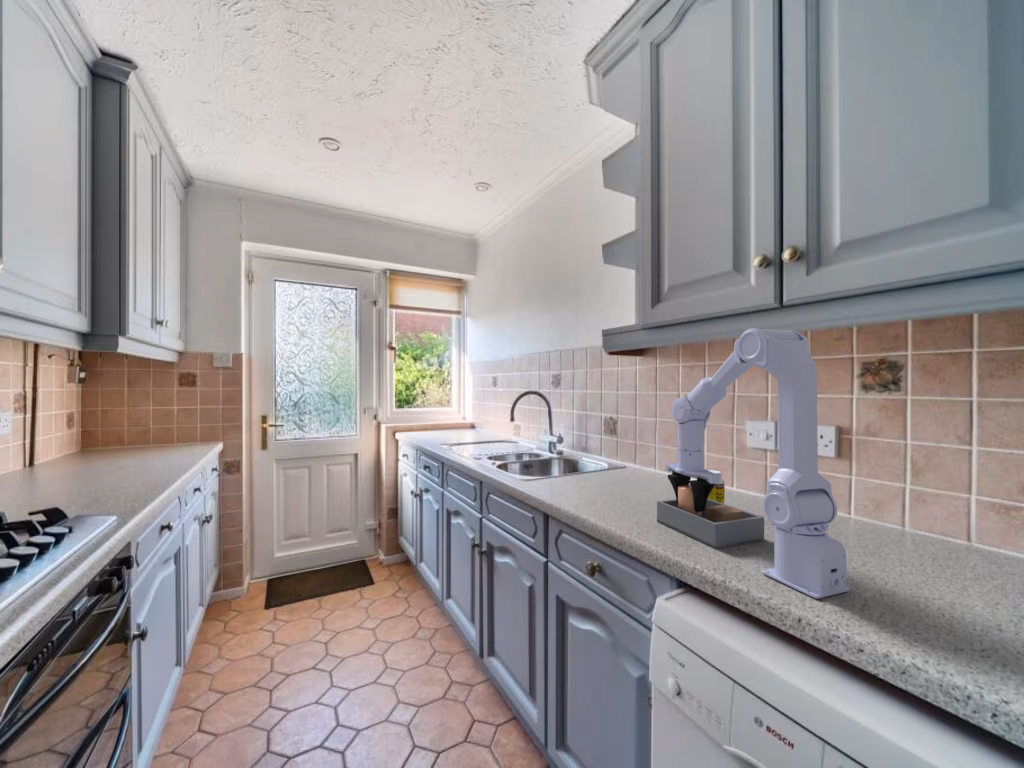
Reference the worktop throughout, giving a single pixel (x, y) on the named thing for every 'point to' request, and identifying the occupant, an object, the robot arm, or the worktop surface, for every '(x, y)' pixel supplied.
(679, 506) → the terracotta cylinder
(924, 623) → the worktop surface
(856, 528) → the worktop surface
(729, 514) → the walnut block
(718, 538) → the tote
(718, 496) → the supplement bottle
